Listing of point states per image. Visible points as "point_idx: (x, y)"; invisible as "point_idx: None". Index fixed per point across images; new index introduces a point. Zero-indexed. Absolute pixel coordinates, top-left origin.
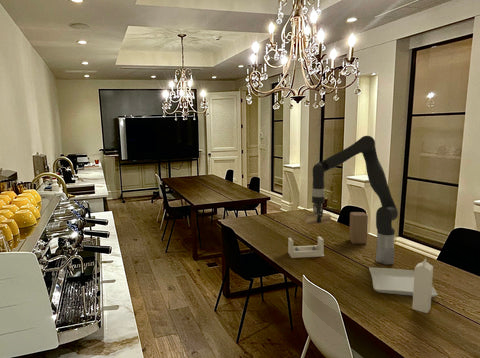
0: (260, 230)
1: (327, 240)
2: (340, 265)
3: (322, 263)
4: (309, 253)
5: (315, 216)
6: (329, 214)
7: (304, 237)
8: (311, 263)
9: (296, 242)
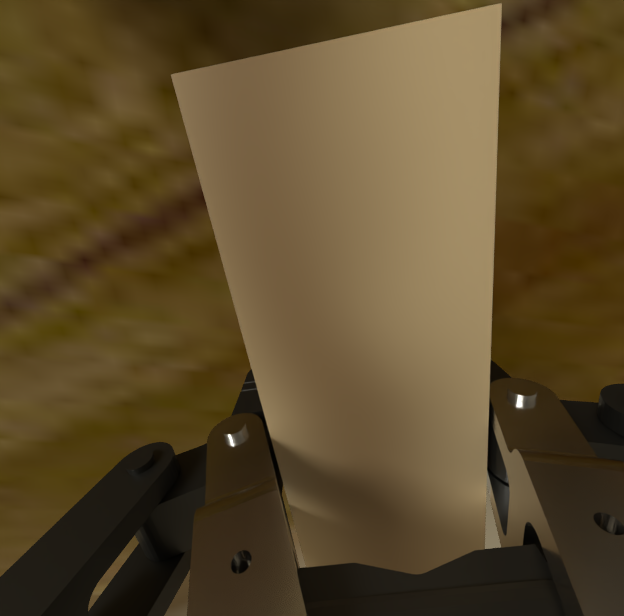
0: (7, 523)
1: (80, 143)
2: (596, 146)
3: (537, 259)
4: None
5: (477, 506)
6: (349, 41)
7: (58, 308)
8: (524, 320)
9: (176, 365)
